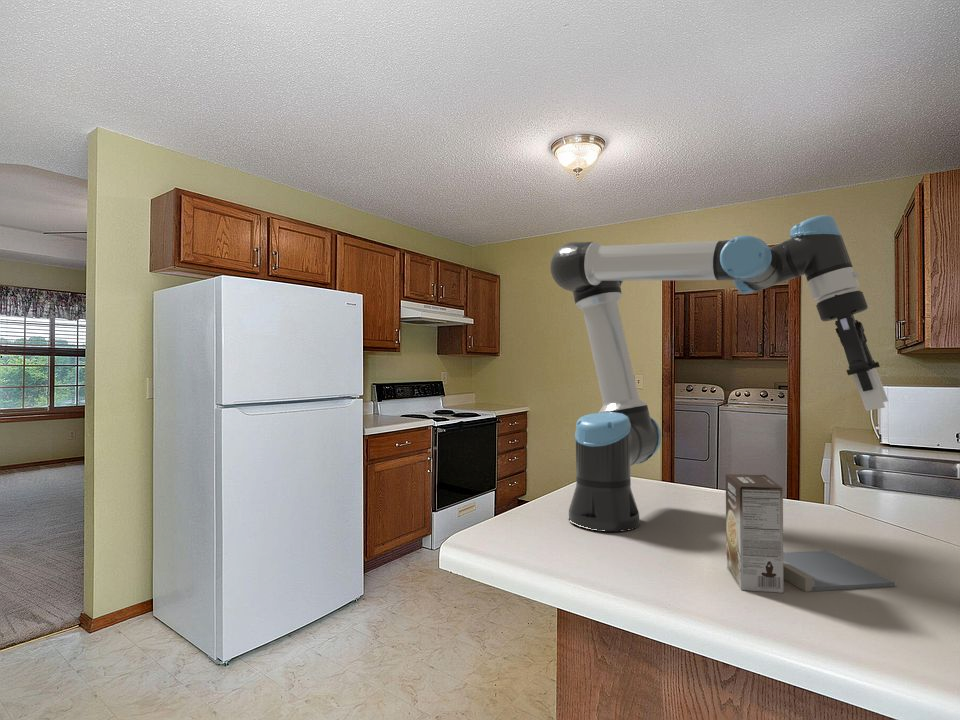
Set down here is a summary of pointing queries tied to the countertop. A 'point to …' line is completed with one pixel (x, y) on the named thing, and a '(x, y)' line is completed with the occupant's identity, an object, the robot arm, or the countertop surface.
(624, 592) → the countertop surface
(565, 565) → the countertop surface
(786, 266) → the robot arm
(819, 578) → the mat
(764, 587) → the coffee box
